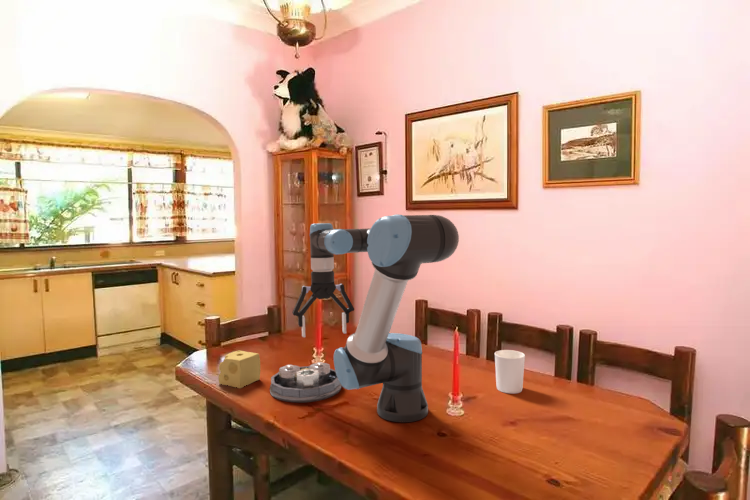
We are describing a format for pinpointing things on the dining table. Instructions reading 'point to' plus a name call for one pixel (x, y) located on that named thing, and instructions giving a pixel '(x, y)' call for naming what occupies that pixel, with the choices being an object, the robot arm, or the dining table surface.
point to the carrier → (287, 389)
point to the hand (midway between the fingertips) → (324, 334)
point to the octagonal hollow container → (307, 378)
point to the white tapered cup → (509, 370)
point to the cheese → (239, 369)
